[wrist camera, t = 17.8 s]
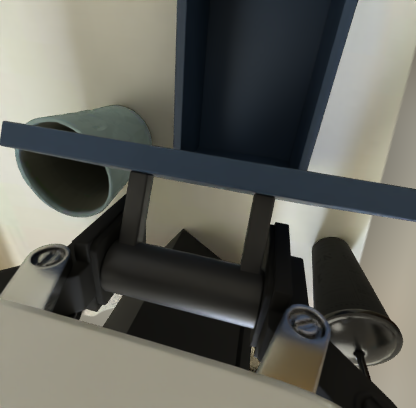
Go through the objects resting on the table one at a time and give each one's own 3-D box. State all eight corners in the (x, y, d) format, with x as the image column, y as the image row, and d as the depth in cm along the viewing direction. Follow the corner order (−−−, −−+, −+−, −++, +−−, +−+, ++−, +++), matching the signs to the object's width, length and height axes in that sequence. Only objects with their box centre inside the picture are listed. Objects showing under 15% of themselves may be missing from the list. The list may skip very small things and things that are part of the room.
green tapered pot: (92, 87, 33) (9, 100, 23) (167, 116, 33) (117, 143, 23) (87, 159, 38) (18, 196, 28) (151, 185, 38) (105, 232, 28)
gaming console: (256, 287, 43) (227, 627, 17) (199, 324, 51) (120, 597, 25) (183, 228, 40) (24, 521, 15) (135, 276, 48) (-25, 524, 23)
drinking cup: (369, 232, 34) (463, 409, 17) (352, 276, 38) (413, 457, 21) (307, 223, 35) (336, 379, 18) (296, 267, 39) (311, 429, 22)
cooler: (206, -30, 25) (178, -63, 18) (345, -21, 23) (374, -55, 16) (194, 149, 34) (172, 173, 27) (294, 166, 32) (299, 196, 25)
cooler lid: (1, 119, 8) (-21, 284, 9) (439, 192, 7) (391, 398, 7) (171, 171, 27) (162, 224, 27) (300, 194, 25) (288, 251, 25)
